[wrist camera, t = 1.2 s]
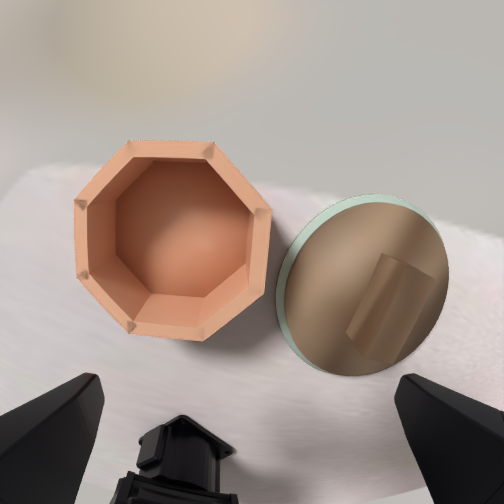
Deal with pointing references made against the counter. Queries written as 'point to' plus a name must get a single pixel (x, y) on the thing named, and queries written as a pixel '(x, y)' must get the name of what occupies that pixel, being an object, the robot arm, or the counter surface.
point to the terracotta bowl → (171, 239)
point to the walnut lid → (366, 288)
